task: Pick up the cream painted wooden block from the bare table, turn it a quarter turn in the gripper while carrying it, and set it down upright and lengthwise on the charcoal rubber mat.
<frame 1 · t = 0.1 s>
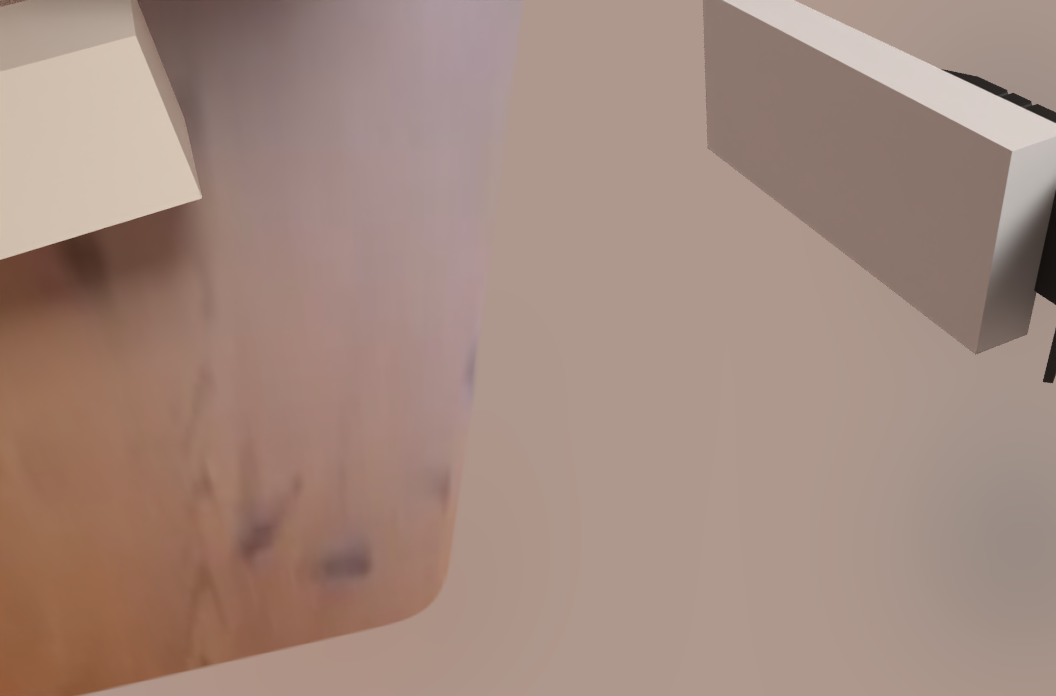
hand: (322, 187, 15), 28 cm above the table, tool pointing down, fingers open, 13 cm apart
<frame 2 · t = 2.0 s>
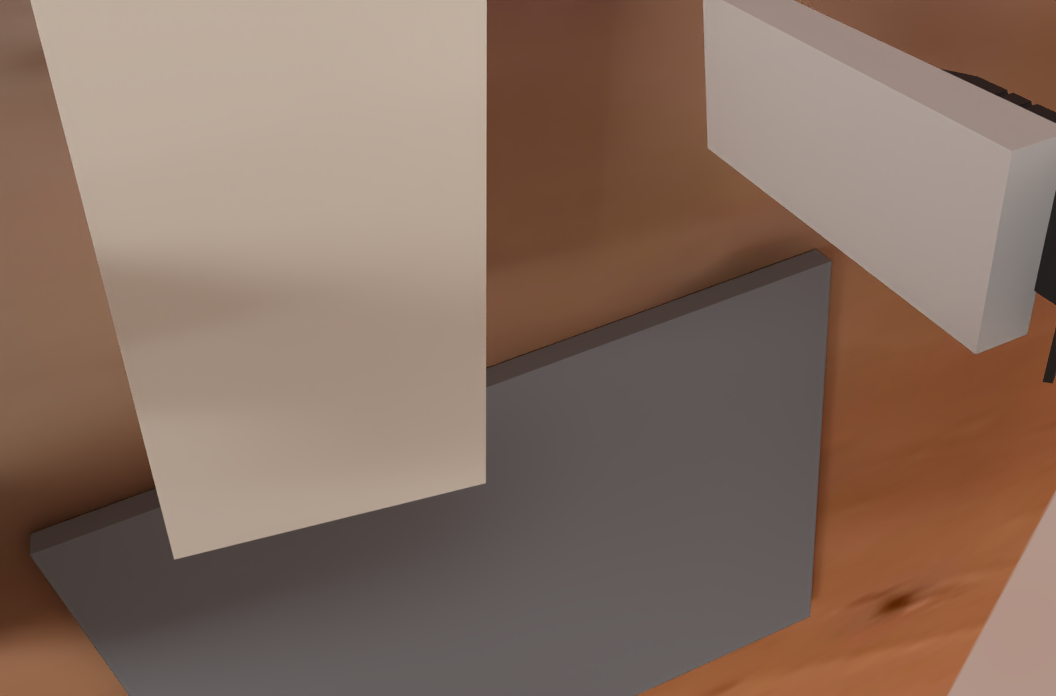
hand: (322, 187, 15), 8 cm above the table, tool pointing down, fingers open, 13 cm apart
cream block: (228, 31, 21), on the table
rubber mat: (506, 576, 33), on the table
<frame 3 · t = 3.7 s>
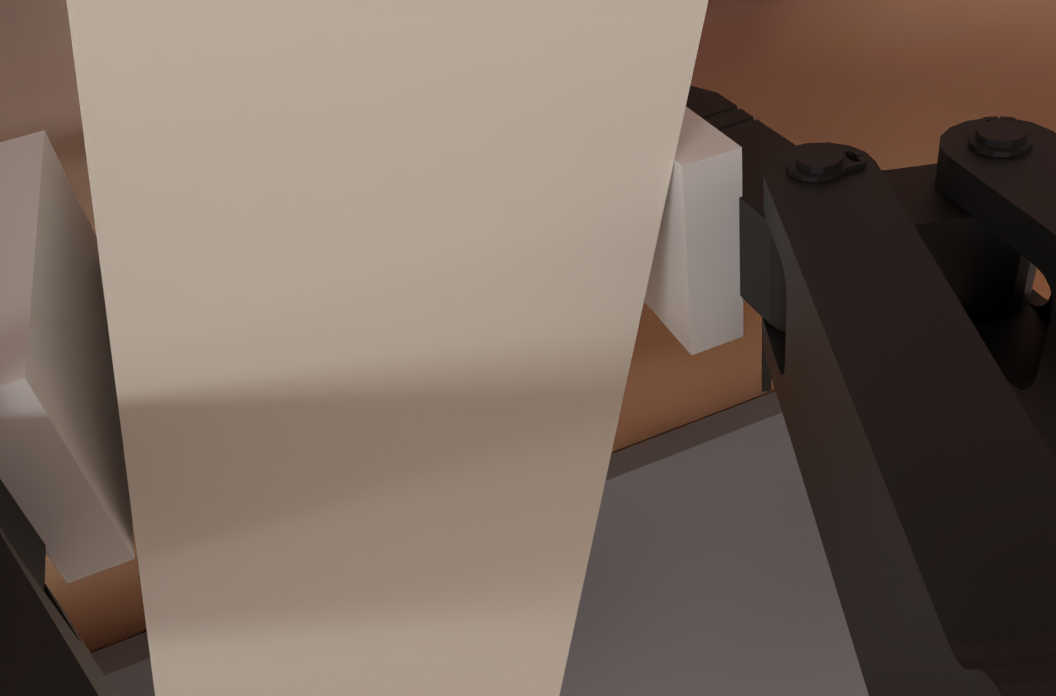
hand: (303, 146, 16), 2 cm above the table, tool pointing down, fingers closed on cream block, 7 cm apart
cream block: (286, 109, 17), on the table, touching gripper
rubber mat: (571, 687, 30), on the table
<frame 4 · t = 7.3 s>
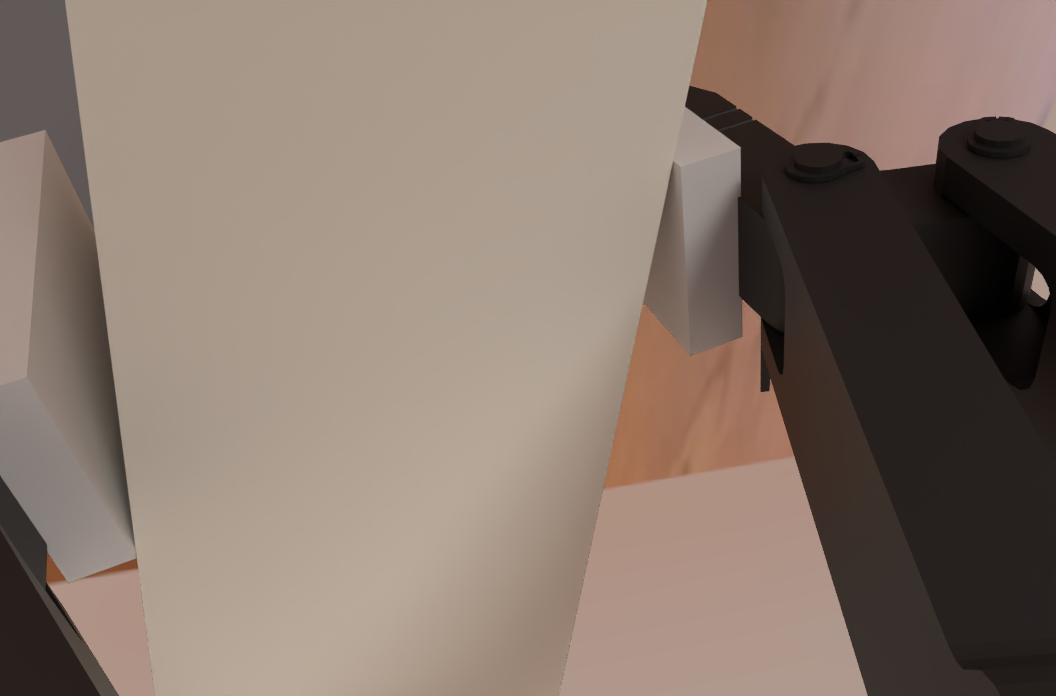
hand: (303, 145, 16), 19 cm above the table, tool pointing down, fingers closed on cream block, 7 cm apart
cream block: (286, 109, 17), point 17 cm above the table, touching gripper
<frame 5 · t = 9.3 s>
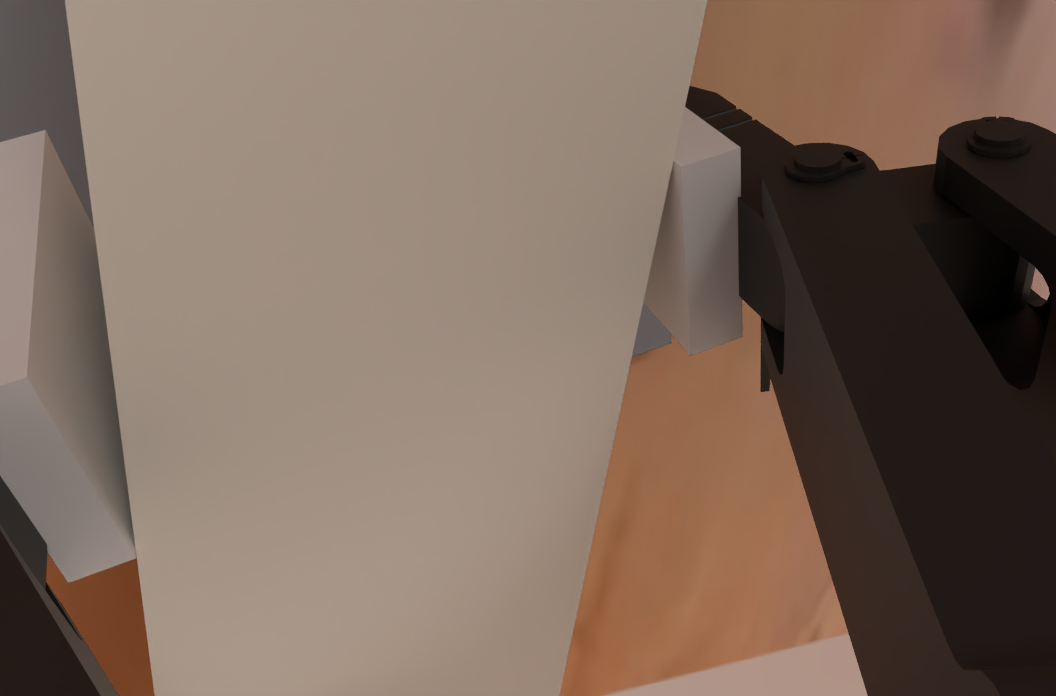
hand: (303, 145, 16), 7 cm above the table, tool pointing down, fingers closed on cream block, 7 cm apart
cream block: (286, 110, 17), point 5 cm above the table, touching gripper
rubber mat: (250, 22, 21), on the table
when the fingers open (3 cm above the table, at t = 10.9 s): cream block stays where it is, resting on rubber mat.
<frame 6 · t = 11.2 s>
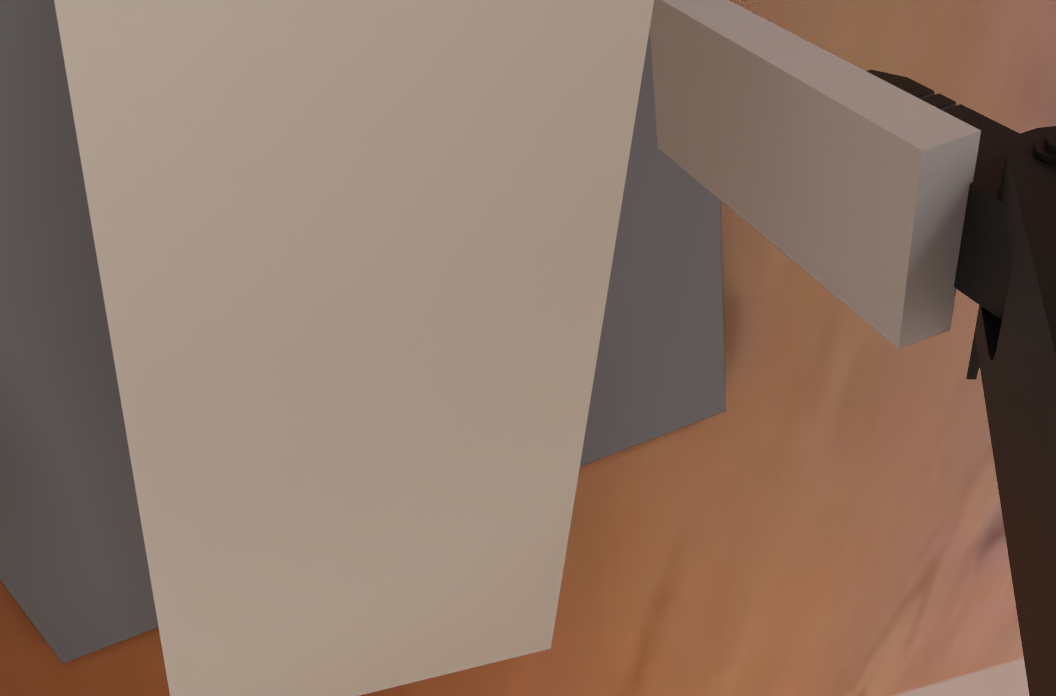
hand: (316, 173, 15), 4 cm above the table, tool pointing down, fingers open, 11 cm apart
cream block: (278, 91, 18), point 1 cm above the table, touching rubber mat
rubber mat: (272, 78, 18), on the table
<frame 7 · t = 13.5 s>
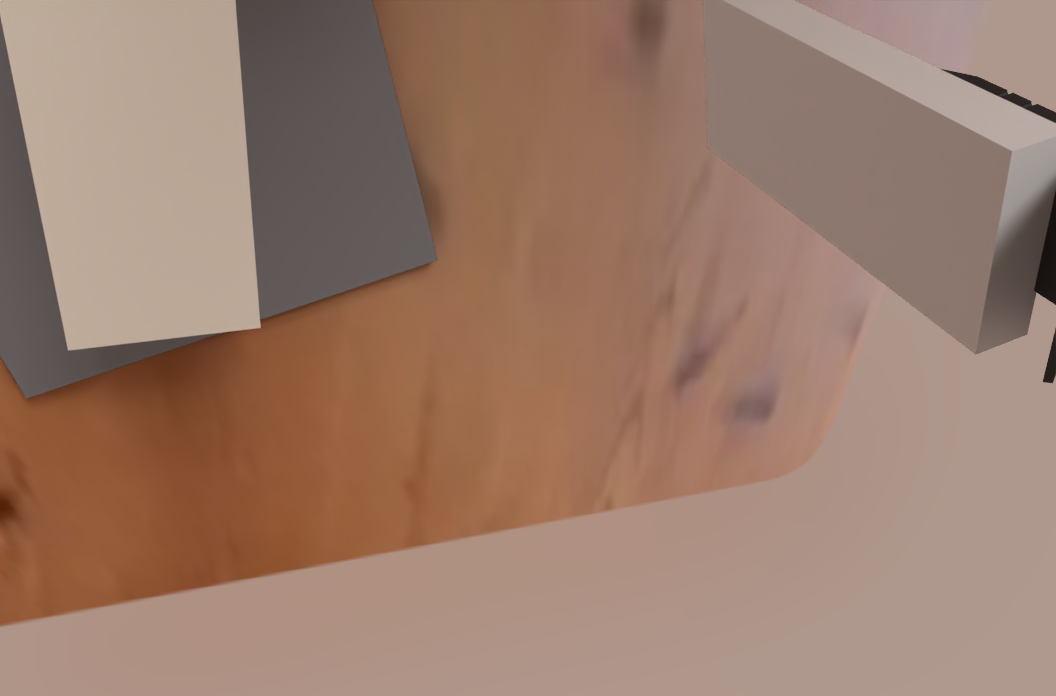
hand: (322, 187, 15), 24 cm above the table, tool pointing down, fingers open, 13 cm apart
cream block: (128, 56, 35), point 1 cm above the table, touching rubber mat
rubber mat: (128, 50, 35), on the table
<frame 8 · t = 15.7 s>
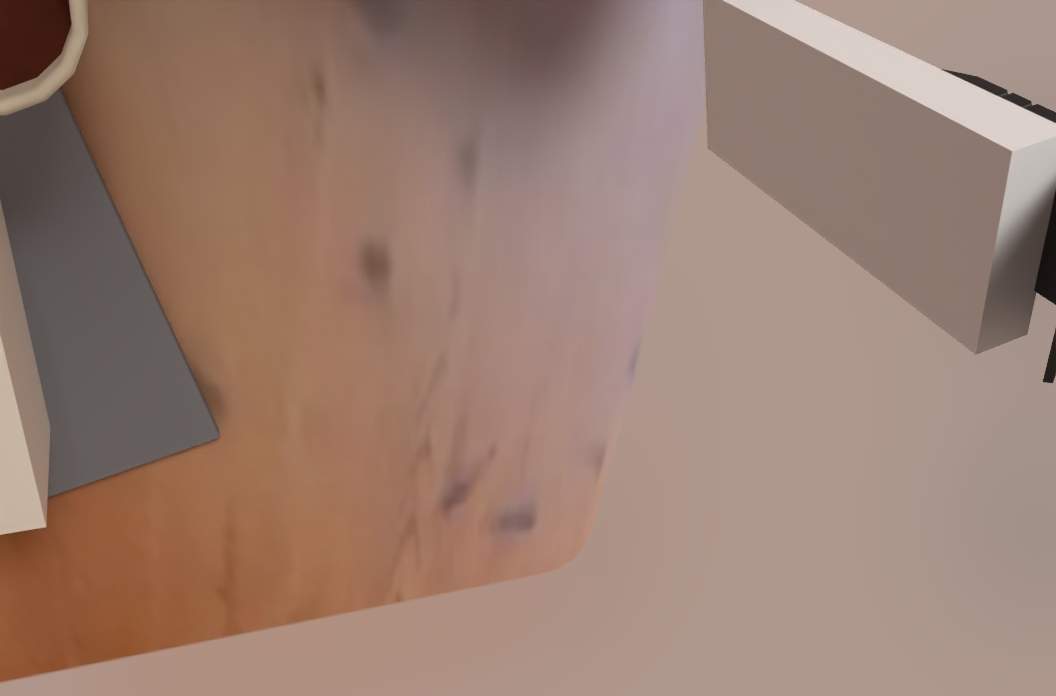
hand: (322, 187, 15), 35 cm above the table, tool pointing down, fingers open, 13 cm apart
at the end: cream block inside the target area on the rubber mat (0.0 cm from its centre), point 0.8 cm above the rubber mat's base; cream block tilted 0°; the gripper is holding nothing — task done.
